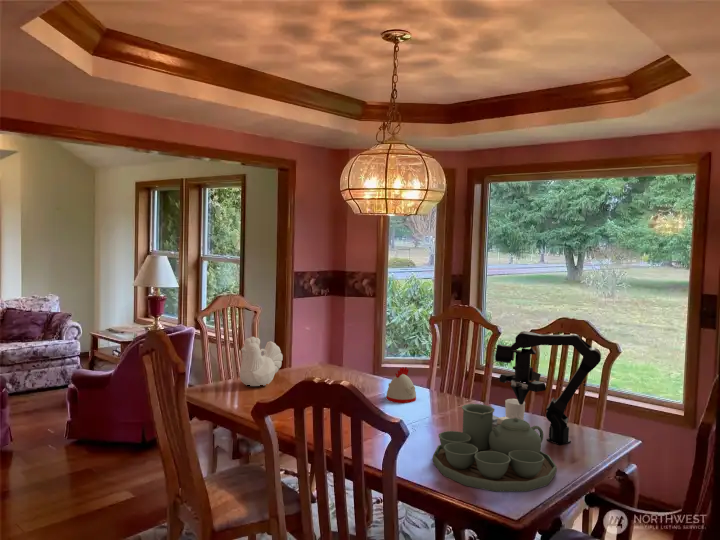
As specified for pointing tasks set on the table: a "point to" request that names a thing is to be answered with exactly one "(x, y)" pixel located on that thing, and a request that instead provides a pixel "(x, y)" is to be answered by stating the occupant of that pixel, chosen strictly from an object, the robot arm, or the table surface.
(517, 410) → the white cup
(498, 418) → the white key
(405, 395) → the chicken tea cozy
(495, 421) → the slate blue key
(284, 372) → the table surface
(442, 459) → the tea set
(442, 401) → the table surface
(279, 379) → the table surface
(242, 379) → the decorative rooster
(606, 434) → the table surface
